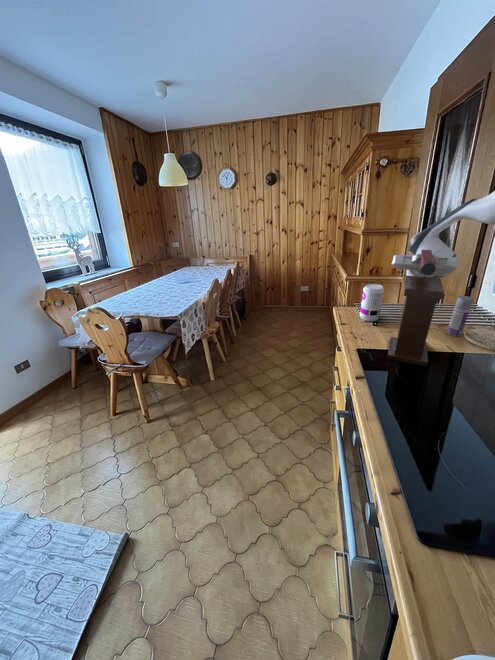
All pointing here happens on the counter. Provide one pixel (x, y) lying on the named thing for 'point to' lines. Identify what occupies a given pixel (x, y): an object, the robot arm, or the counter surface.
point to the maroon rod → (427, 262)
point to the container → (459, 315)
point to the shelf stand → (415, 320)
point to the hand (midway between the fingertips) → (426, 256)
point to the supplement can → (371, 302)
